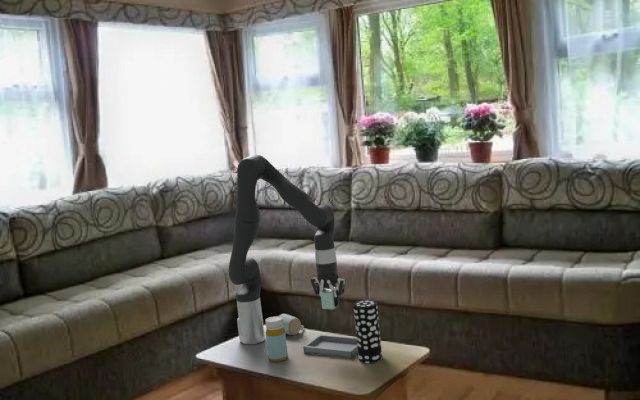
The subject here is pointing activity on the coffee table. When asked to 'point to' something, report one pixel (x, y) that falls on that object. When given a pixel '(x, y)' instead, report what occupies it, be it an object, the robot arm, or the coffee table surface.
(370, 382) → the coffee table surface
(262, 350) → the coffee table surface
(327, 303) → the sage block
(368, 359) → the white-spotted black cylinder
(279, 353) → the bottle
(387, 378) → the coffee table surface
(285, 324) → the ceramic mug
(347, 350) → the gray tray
